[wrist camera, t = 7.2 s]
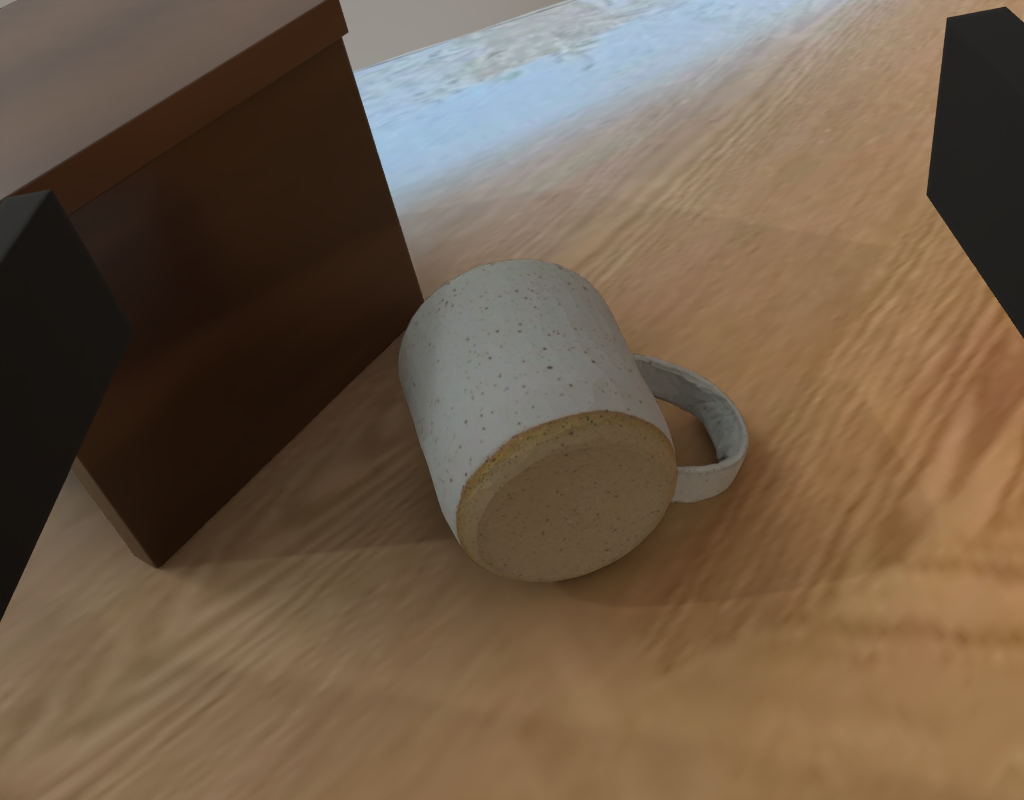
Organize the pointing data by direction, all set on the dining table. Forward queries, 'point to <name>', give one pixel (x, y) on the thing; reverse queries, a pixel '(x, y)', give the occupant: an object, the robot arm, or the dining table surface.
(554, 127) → the dining table surface
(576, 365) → the ceramic mug
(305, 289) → the brown wooden nightstand
